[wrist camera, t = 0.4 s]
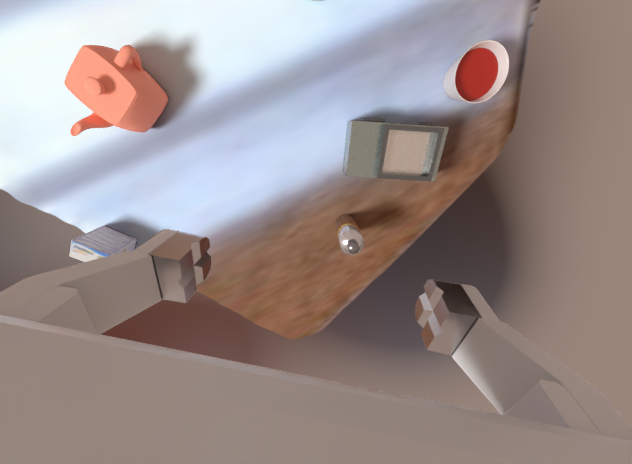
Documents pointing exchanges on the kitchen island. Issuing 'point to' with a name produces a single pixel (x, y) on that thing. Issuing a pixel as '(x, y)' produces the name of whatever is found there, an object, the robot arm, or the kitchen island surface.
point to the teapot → (114, 89)
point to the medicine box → (101, 244)
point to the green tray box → (393, 150)
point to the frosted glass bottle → (349, 235)
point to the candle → (477, 73)
